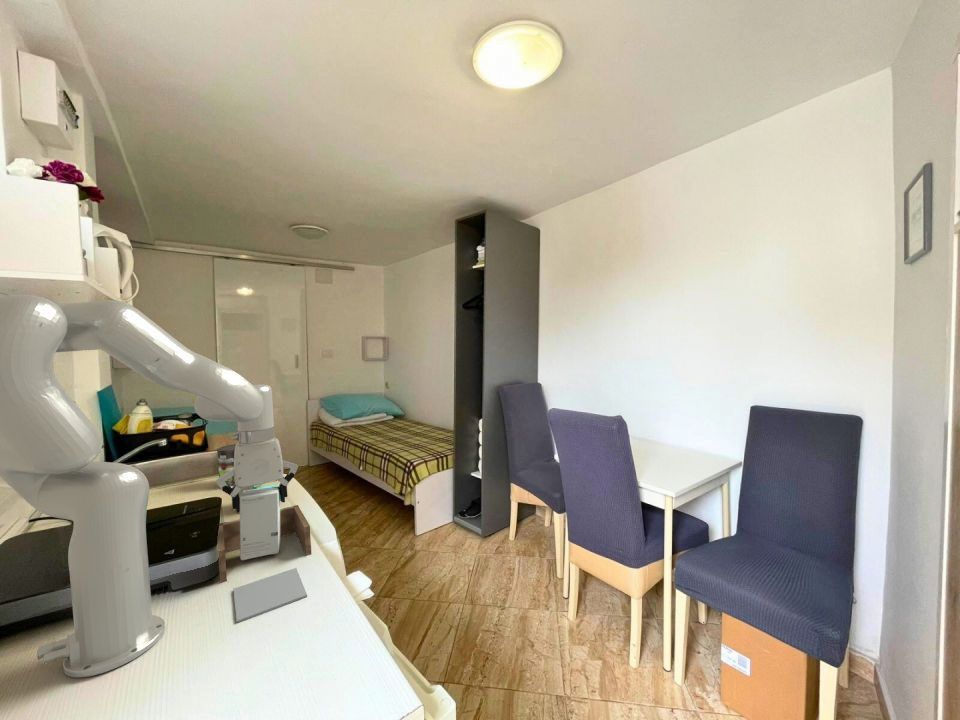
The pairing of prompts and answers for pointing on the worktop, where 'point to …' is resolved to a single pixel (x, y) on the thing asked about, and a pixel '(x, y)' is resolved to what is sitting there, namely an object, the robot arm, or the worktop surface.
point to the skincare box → (259, 522)
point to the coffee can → (226, 462)
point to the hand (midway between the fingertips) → (260, 505)
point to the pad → (268, 594)
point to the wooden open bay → (289, 524)
